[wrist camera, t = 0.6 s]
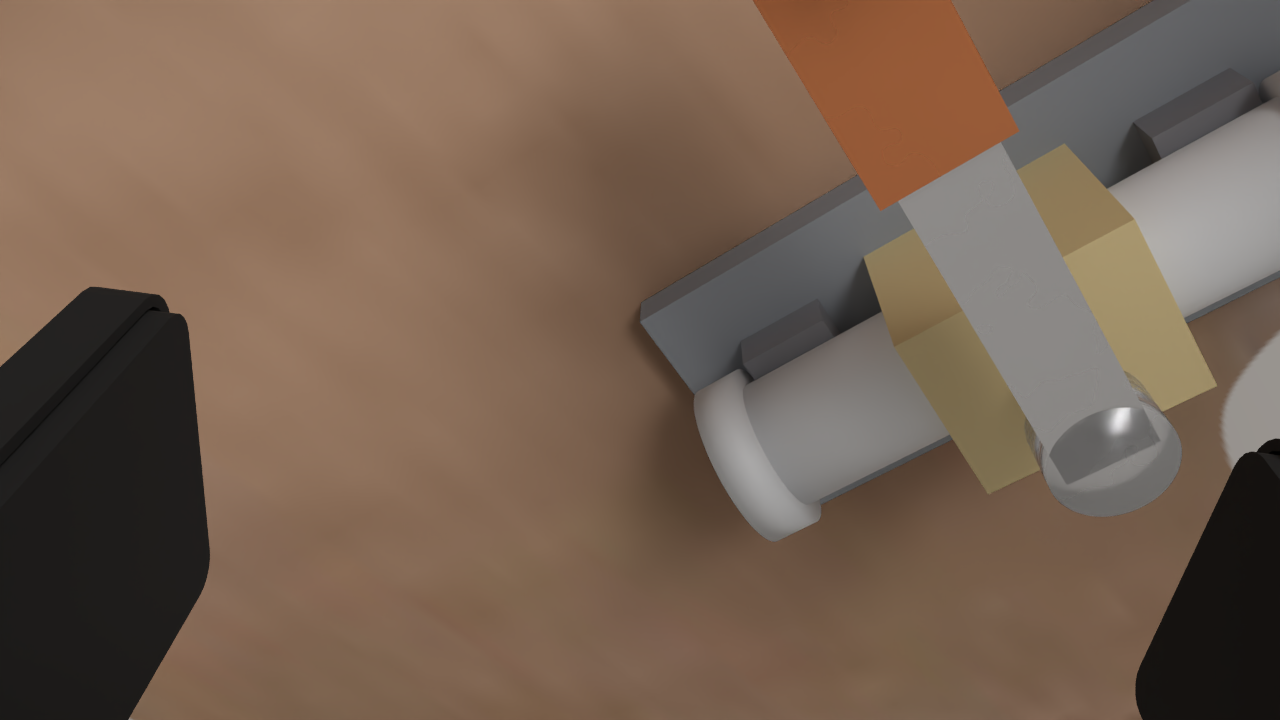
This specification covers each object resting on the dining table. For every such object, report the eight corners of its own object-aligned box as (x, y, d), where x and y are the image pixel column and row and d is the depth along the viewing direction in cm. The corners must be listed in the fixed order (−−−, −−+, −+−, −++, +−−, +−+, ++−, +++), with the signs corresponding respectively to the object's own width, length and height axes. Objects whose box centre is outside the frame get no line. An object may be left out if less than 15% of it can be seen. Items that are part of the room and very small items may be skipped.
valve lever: (837, -192, 22) (854, -184, 20) (1166, 429, 29) (1206, 487, 27) (702, -98, 23) (704, -79, 21) (1051, 482, 30) (1081, 543, 28)
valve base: (1261, -64, 33) (1475, 11, 24) (1366, 204, 37) (1584, 354, 28) (641, 302, 39) (628, 467, 30) (785, 497, 43) (810, 694, 34)
